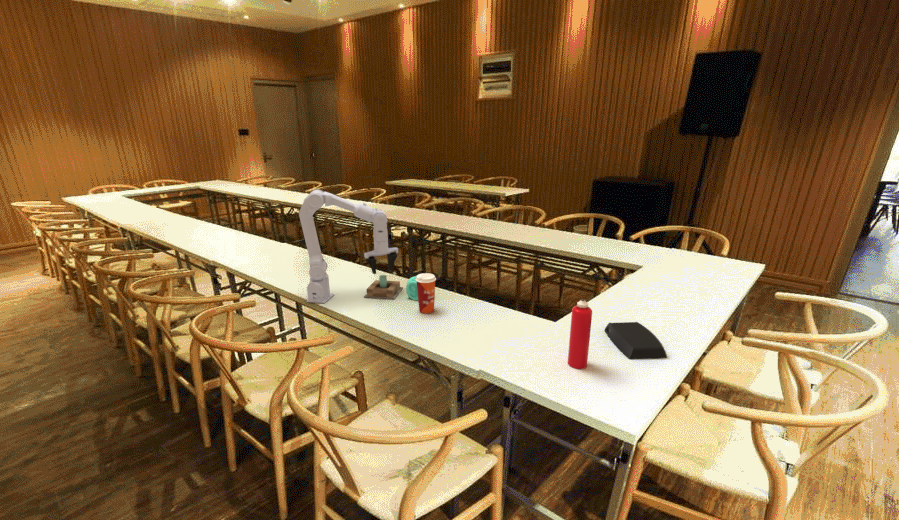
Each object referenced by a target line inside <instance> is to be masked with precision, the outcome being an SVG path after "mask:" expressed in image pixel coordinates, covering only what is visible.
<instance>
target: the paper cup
mask: <svg viewBox="0 0 899 520" xmlns="http://www.w3.org/2000/svg"><path fill="white" fill-rule="evenodd" d="M416 276H417V277H416V281H417V292H418V301H417V302H418V310H419V313H421V314H432V313H434V311H435V296H436V280H437V278H436V276H435V274H433V273H429V272H428V273H427V272H424V273H419V274H417V275H416Z"/></svg>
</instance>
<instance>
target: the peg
mask: <svg viewBox="0 0 899 520" xmlns="http://www.w3.org/2000/svg"><path fill="white" fill-rule="evenodd" d="M378 277H379V280H380V288H387V281H388V279H387V277H388V276H387V274H381V275H378Z"/></svg>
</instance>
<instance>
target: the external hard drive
mask: <svg viewBox="0 0 899 520" xmlns="http://www.w3.org/2000/svg"><path fill="white" fill-rule="evenodd" d="M604 333H605V334H606V336H607V337H608V338H610V339H609V340H610V341H611V342H612V344H613V345H614V346H615V347H616V348H617V349H618V351H619V352H621V354H622V355H623V356H625V357H626V358H627V359H628V360H650V359H654V360H655V359H668V355H667V352H666V350H665V347H664V345H663V344H662V342H661V341H660V340H659V338H658V337H657V336H656V335H655V334H654V333H653V331H651V330H650V329H649V328H648V327H645V325H643V324H641V322H638V321H632V322H631V321H630V322H623V321H622V322H608V324H606V326H605V328H604Z"/></svg>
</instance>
